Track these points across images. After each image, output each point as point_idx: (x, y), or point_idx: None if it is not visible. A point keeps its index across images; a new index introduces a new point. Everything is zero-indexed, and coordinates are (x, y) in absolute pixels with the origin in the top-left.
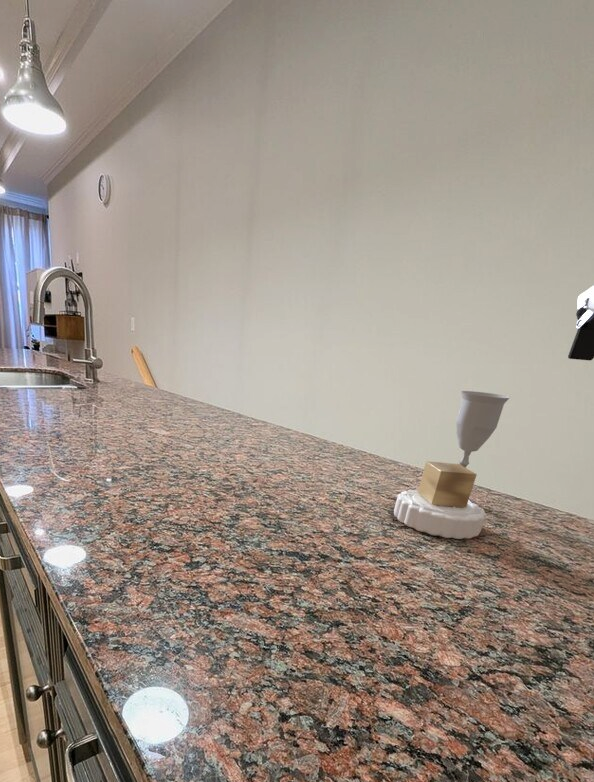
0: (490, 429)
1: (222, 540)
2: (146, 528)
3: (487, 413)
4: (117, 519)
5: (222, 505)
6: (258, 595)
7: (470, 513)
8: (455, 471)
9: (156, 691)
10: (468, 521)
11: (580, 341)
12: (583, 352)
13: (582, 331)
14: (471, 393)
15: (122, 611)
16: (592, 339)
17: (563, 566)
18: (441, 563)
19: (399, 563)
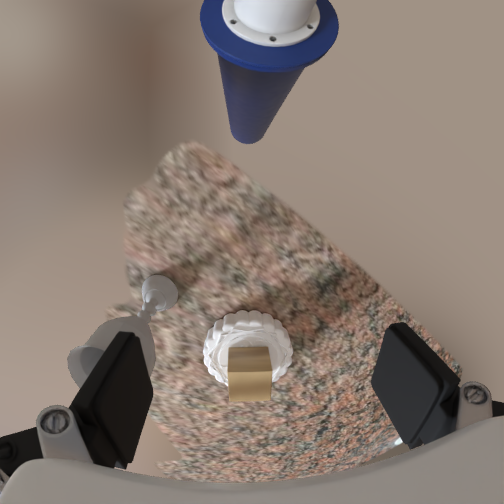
0: (150, 342)
1: (304, 454)
2: (291, 472)
3: (148, 371)
4: (281, 480)
5: (249, 458)
6: (358, 436)
7: (281, 346)
8: (267, 388)
9: (396, 441)
10: (292, 348)
11: (138, 427)
12: (142, 384)
13: (132, 458)
14: (77, 378)
15: (360, 459)
16: (121, 405)
17: (335, 268)
18: (333, 366)
19: (332, 389)
